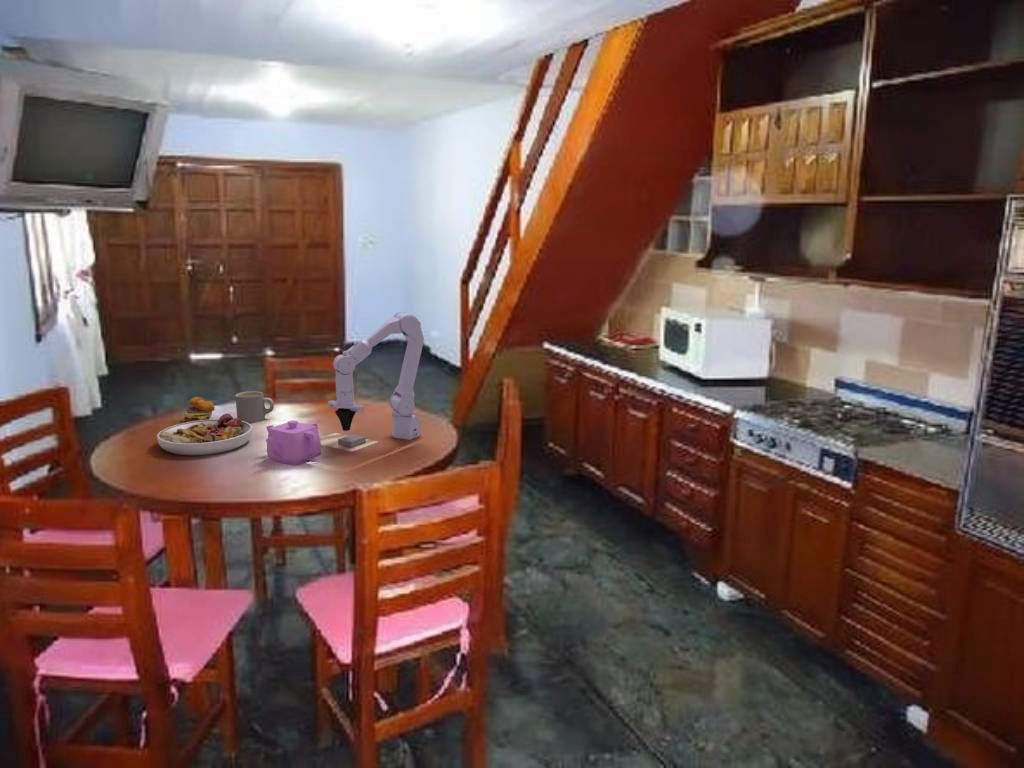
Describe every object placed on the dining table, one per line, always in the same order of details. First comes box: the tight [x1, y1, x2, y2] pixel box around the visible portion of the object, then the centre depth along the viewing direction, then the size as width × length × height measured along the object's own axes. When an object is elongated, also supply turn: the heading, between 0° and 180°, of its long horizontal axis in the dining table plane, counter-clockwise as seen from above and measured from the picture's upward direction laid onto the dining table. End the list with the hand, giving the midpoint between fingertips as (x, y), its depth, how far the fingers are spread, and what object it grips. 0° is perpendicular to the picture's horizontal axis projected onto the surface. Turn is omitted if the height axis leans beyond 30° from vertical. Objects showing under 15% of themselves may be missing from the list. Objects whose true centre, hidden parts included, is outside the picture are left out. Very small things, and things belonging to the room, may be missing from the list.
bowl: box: [156, 413, 253, 456], centre depth 253 cm, size 30×30×8 cm
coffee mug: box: [235, 390, 275, 424], centre depth 284 cm, size 13×10×10 cm
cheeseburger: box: [181, 396, 216, 423], centre depth 282 cm, size 10×11×10 cm
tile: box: [338, 433, 367, 447], centre depth 251 cm, size 2×7×6 cm
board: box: [320, 432, 378, 453], centre depth 254 cm, size 20×13×1 cm, turn 59°
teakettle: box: [265, 420, 322, 466], centre depth 239 cm, size 17×17×12 cm
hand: (346, 430), depth 252 cm, fingers closed
